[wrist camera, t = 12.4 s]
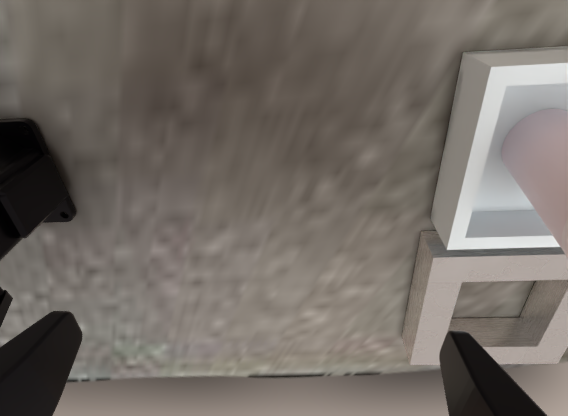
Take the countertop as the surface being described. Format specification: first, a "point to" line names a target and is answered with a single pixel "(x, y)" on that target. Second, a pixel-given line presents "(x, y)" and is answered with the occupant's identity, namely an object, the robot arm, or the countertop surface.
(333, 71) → the countertop surface
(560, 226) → the smoothie
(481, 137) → the tray
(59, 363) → the robot arm
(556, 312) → the bore block
